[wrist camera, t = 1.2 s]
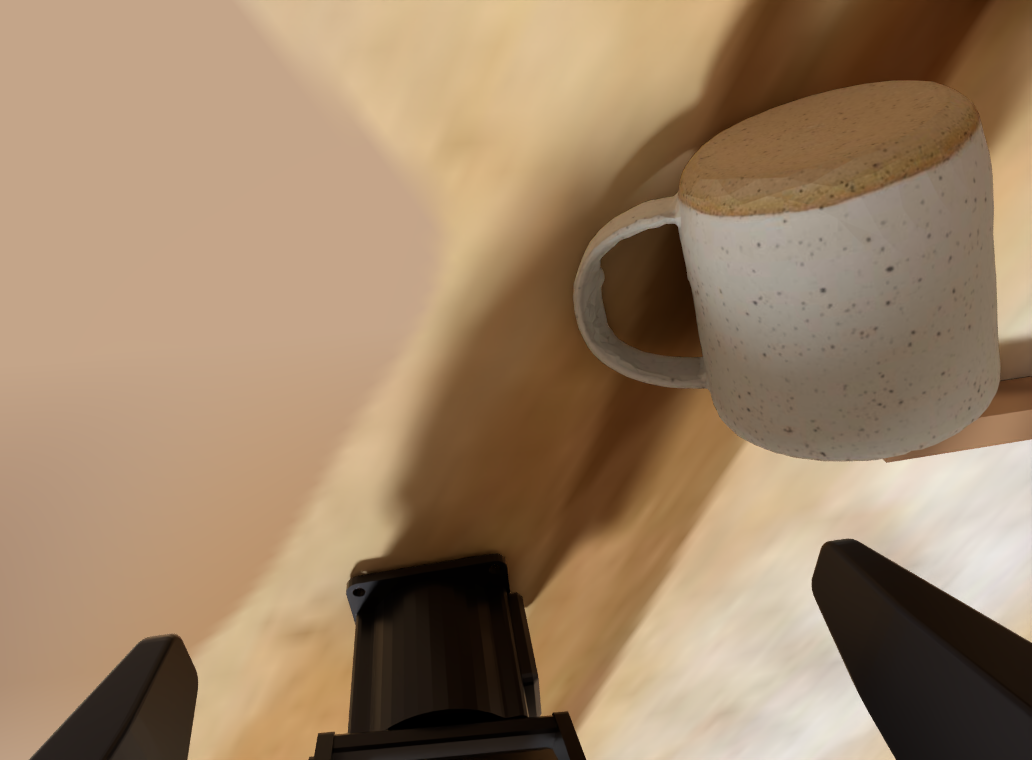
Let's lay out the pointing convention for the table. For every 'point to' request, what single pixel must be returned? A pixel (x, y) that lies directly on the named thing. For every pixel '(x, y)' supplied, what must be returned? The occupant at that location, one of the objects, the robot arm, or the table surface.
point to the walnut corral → (990, 422)
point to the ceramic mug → (830, 273)
